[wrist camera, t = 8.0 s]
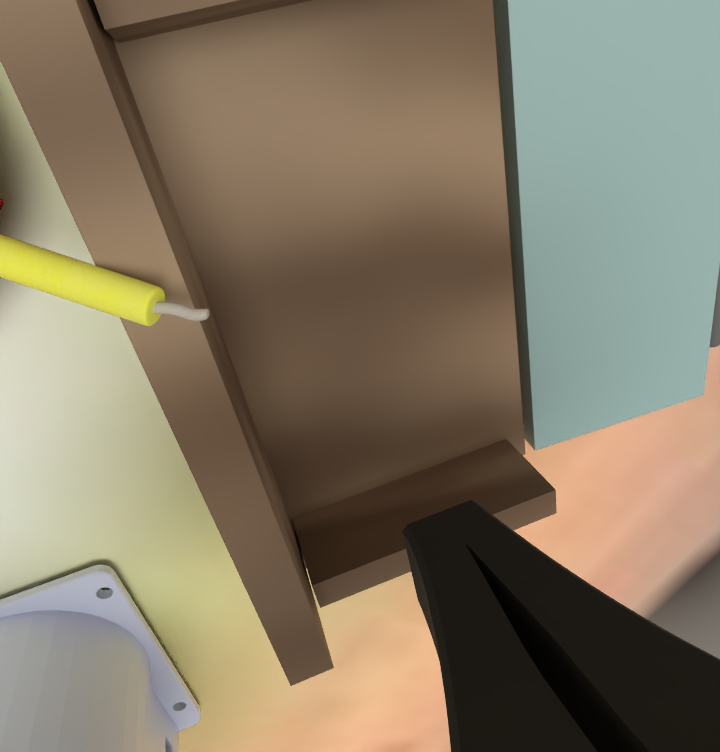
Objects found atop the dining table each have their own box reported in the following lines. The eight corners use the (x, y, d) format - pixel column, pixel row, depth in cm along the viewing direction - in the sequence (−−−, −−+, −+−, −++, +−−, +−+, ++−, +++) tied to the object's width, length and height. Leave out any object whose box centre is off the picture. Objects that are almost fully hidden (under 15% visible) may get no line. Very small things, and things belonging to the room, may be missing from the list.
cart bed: (506, 448, 22) (616, 567, 17) (264, 539, 21) (298, 702, 15) (453, -118, 14) (648, -263, 8) (29, -34, 12) (-94, -143, 6)
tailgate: (524, 438, 21) (703, 380, 22) (535, 450, 21) (719, 389, 21) (487, -88, 13) (768, -150, 14) (501, -97, 13) (797, -162, 14)
